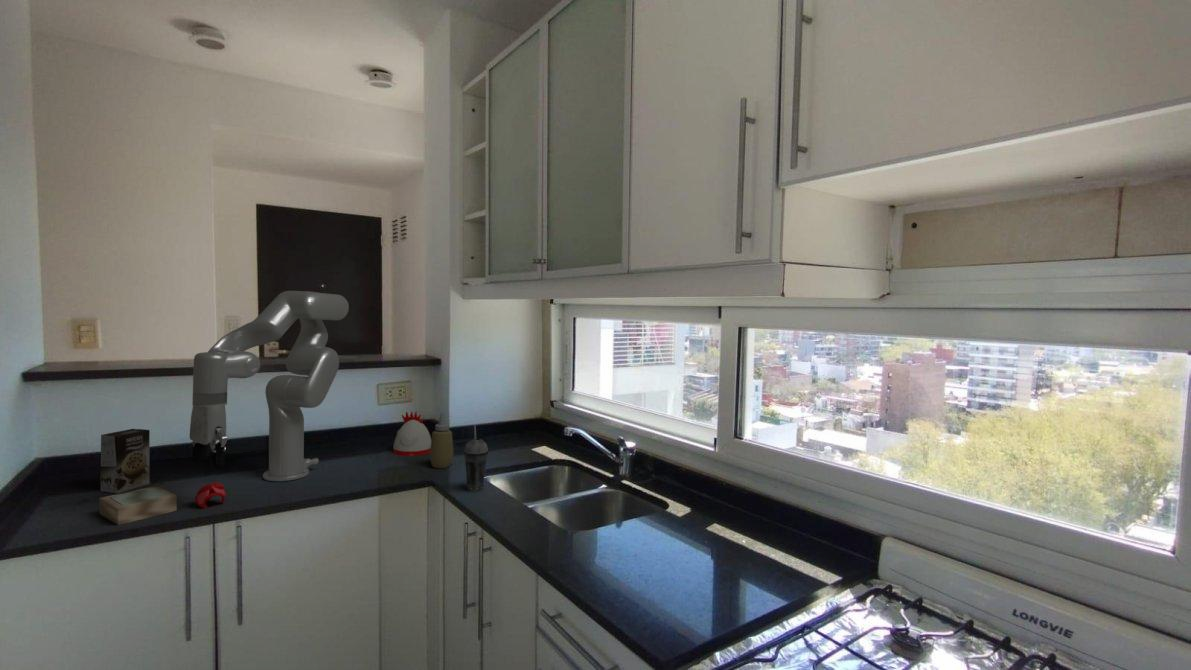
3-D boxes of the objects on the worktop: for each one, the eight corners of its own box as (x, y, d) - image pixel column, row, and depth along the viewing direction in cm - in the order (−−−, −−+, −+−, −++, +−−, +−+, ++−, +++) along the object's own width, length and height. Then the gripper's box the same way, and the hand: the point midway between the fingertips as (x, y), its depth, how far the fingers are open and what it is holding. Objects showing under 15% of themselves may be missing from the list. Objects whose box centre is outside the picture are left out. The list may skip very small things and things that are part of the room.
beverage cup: (491, 487, 170) (493, 423, 169) (479, 495, 163) (481, 427, 162) (471, 484, 172) (472, 420, 171) (457, 491, 165) (459, 425, 164)
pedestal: (156, 500, 149) (156, 485, 149) (176, 510, 143) (176, 494, 143) (99, 513, 139) (99, 497, 139) (117, 525, 133) (117, 508, 132)
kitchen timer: (398, 446, 214) (399, 407, 213) (435, 446, 215) (435, 408, 215) (389, 455, 200) (389, 414, 199) (428, 456, 202) (429, 415, 201)
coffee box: (118, 494, 153) (117, 436, 152) (99, 491, 154) (99, 434, 153) (150, 483, 162) (150, 429, 161) (133, 481, 163) (132, 427, 162)
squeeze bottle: (423, 467, 187) (425, 415, 186) (439, 461, 195) (440, 411, 194) (443, 471, 184) (444, 417, 183) (458, 465, 192) (459, 413, 191)
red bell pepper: (234, 492, 149) (227, 476, 152) (212, 491, 143) (205, 474, 146) (216, 514, 149) (209, 498, 152) (193, 514, 144) (186, 497, 147)
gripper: (178, 396, 147) (177, 460, 148) (209, 404, 138) (207, 472, 139) (210, 394, 154) (208, 455, 154) (241, 401, 145) (239, 466, 145)
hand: (208, 463), depth 146 cm, fingers open, 9 cm apart
